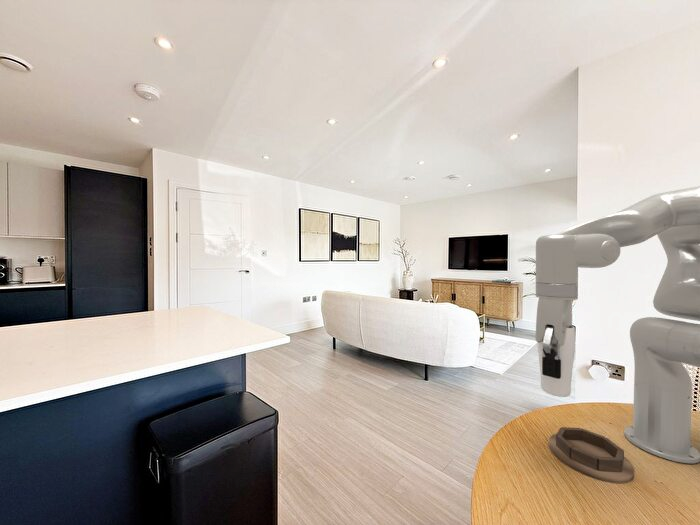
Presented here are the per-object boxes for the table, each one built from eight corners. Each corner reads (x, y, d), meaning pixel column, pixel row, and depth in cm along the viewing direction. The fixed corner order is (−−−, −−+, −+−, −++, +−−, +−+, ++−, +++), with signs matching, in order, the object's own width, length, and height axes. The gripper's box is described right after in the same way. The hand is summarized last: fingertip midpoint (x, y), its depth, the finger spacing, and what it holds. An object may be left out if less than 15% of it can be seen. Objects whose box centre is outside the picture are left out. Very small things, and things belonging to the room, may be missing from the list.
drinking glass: (582, 401, 58) (582, 329, 58) (545, 398, 59) (546, 327, 59) (564, 386, 65) (564, 321, 64) (531, 384, 66) (531, 320, 66)
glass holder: (557, 429, 76) (557, 416, 76) (636, 459, 64) (637, 444, 64) (540, 454, 66) (541, 440, 66) (631, 495, 54) (631, 478, 54)
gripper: (546, 286, 70) (546, 358, 71) (523, 293, 59) (523, 378, 59) (585, 289, 65) (584, 366, 65) (568, 296, 53) (567, 390, 53)
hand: (555, 371), depth 62 cm, fingers closed on drinking glass, 6 cm apart
